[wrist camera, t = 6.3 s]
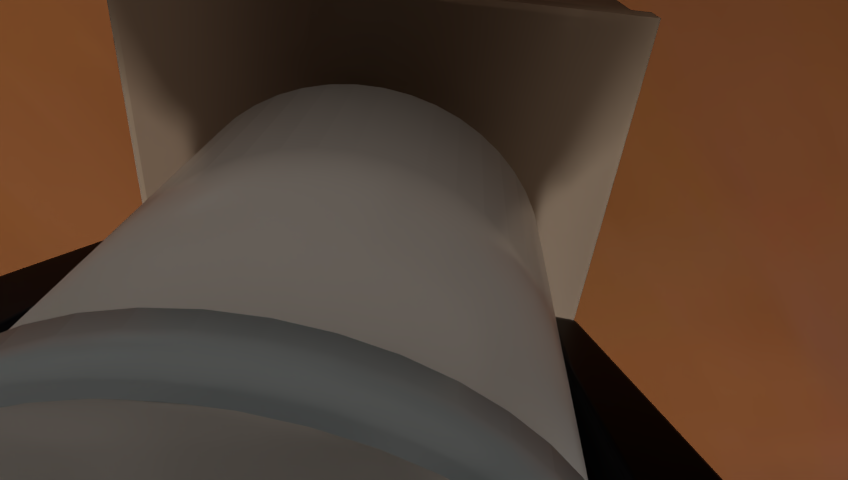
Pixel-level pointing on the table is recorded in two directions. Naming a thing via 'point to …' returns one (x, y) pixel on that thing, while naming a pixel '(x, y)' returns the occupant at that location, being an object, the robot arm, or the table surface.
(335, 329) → the beaker
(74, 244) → the table surface
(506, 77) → the beige box
